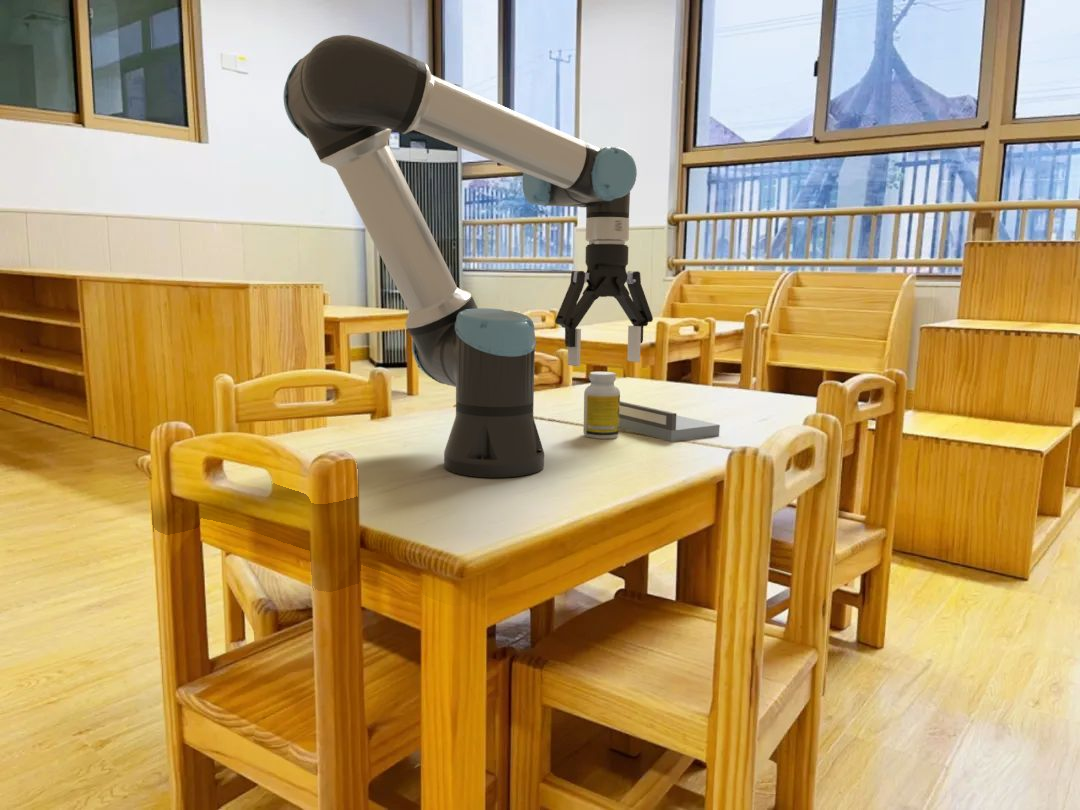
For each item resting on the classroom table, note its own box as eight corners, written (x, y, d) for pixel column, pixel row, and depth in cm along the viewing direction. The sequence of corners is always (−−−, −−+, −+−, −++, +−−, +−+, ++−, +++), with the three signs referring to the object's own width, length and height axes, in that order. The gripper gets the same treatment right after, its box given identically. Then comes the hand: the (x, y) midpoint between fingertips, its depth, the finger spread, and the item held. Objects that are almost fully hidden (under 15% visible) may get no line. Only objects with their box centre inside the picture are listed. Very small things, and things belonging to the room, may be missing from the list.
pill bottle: (619, 440, 145) (622, 375, 143) (583, 439, 145) (585, 374, 143) (617, 433, 151) (619, 371, 149) (582, 432, 151) (584, 370, 149)
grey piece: (670, 441, 144) (671, 413, 143) (613, 426, 157) (614, 401, 156) (719, 435, 151) (720, 408, 150) (660, 421, 164) (662, 397, 163)
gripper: (561, 240, 132) (559, 369, 136) (674, 244, 146) (670, 361, 150) (536, 242, 139) (535, 365, 142) (647, 245, 152) (643, 357, 156)
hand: (604, 363), depth 146 cm, fingers open, 13 cm apart
